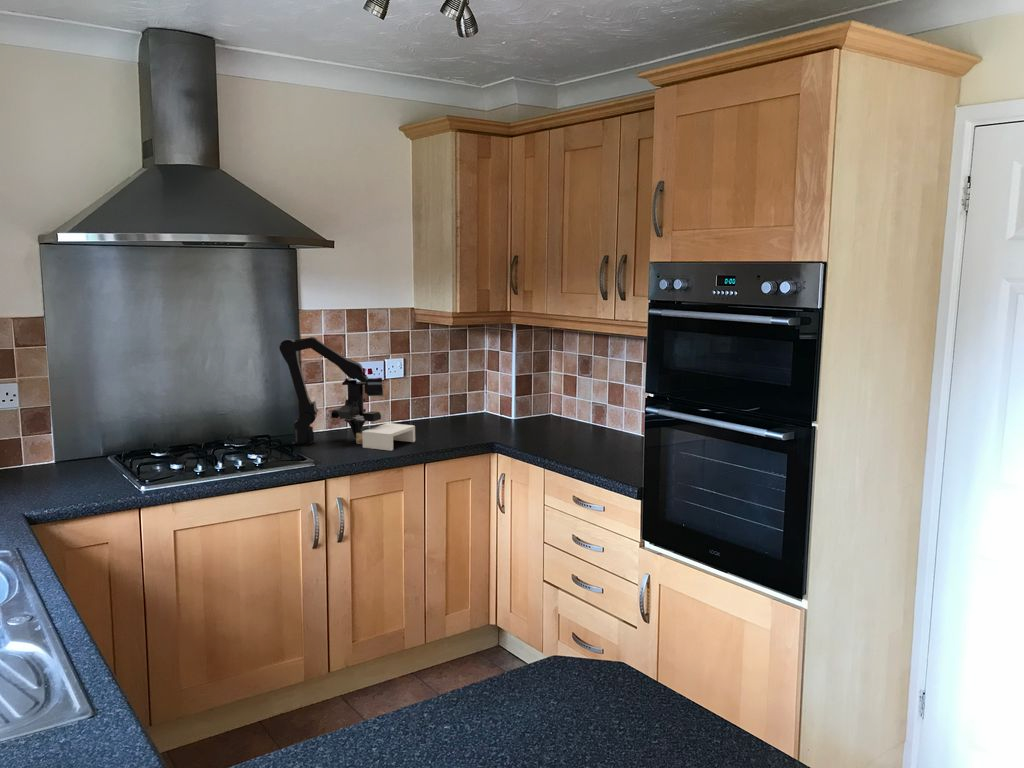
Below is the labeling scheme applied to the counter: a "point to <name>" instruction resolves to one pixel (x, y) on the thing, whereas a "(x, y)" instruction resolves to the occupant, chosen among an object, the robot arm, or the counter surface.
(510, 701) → the counter surface
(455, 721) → the counter surface
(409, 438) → the shelf
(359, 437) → the brown wooden box
